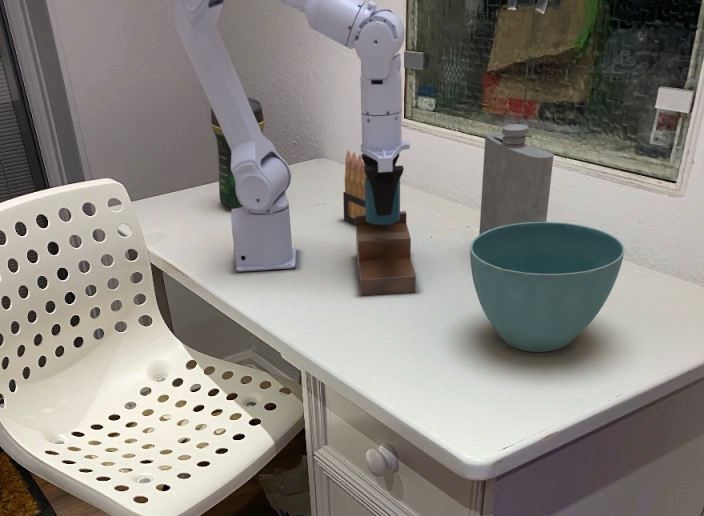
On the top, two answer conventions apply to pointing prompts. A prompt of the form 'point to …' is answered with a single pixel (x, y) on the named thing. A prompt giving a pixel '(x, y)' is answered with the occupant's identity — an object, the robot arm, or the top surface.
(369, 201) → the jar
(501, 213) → the hip flask
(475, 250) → the teal bowl
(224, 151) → the coffee jar
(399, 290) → the step shelf
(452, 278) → the top surface
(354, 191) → the ammunition clip
